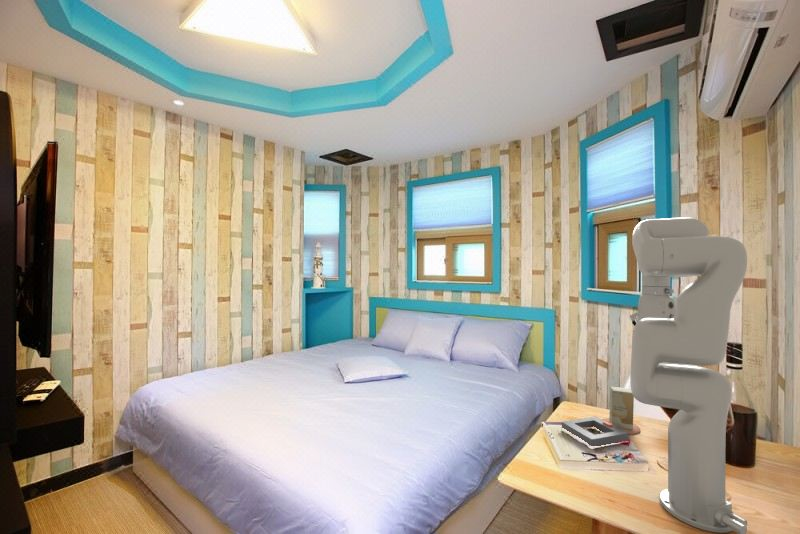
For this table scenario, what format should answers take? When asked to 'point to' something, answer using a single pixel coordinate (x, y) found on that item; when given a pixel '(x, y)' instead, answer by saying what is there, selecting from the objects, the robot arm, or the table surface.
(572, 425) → the gray square frame
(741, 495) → the table surface
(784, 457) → the table surface
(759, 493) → the table surface
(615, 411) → the skincare box
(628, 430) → the coaster
